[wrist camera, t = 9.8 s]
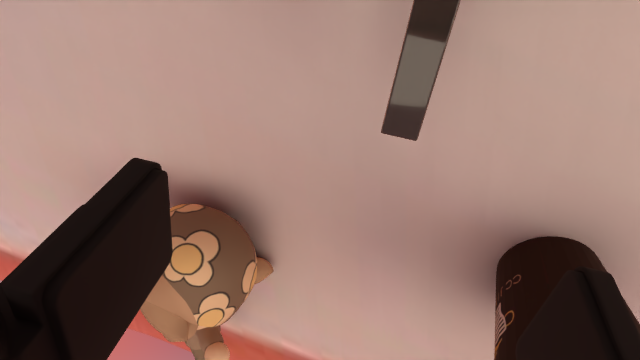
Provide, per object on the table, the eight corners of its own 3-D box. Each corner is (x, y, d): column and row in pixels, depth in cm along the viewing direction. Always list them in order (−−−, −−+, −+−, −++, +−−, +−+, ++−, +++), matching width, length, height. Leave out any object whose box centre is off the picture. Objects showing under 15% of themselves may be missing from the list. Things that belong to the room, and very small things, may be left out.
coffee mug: (533, 201, 27) (573, 340, 19) (654, 260, 27) (744, 420, 19) (433, 305, 34) (431, 439, 26) (531, 351, 34) (559, 496, 26)
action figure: (122, 321, 38) (95, 192, 29) (242, 282, 43) (252, 162, 34) (150, 434, 32) (127, 316, 23) (286, 374, 37) (313, 256, 28)
